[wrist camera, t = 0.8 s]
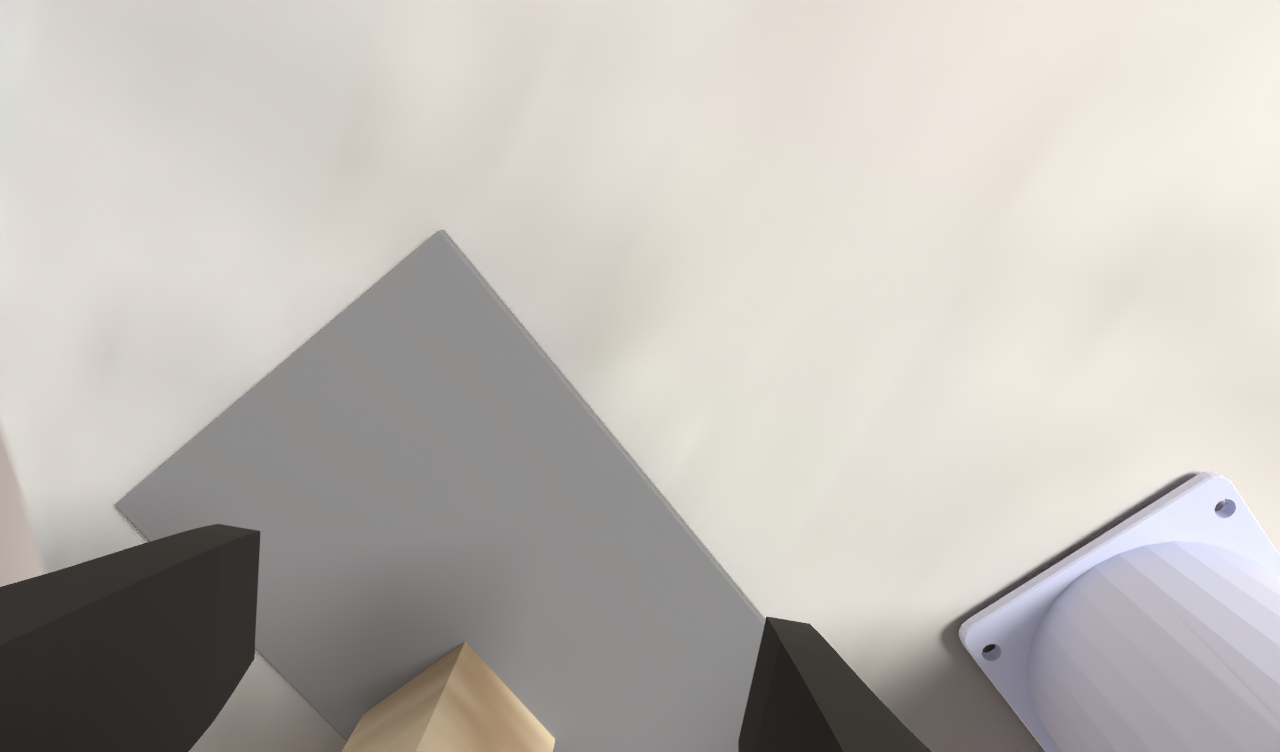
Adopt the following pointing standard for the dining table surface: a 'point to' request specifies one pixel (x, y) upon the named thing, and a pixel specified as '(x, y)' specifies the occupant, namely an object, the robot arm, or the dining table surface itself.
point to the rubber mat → (462, 526)
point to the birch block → (451, 713)
